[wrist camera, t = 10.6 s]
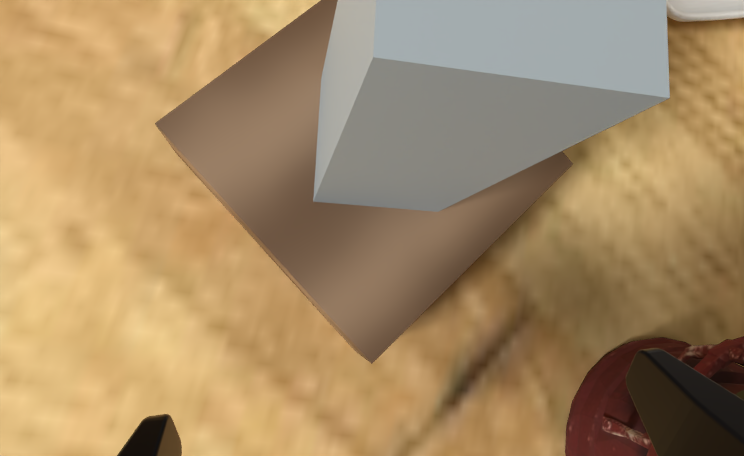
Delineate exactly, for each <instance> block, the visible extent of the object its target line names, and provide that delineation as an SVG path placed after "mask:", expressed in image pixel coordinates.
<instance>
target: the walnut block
mask: <svg viewBox="0 0 744 456" xmlns="http://www.w3.org/2000/svg"><path fill="white" fill-rule="evenodd" d="M337 2H338V0H321V1H320V2H318V3H317V4H315V5H314V6H313V7H311V8H310V9H309V10H307V11H306V12H305V13H303V14H302V15H301V16H299V17H298V18H297V19H295V20H294V21H292V22H291V23H290V24H288V25H287V26H286V27H284V28H283V29H282V30H280V31H279V32H278V33H276V34H275V35H274V36H272V37H271V38H270V39H268V40H267V41H265V42H264V43H263V44H261V45H260V46H259V47H257V48H256V49H255V50H253V51H252V52H251V53H249V54H248V55H247V56H245V57H244V58H243V59H241V60H240V61H238V62H237V63H236V64H234V65H233V66H232V67H230V68H229V69H228V70H226V71H225V72H224V73H222V74H221V75H220V76H218V77H217V78H216V79H214V80H213V81H211V82H210V83H209V84H207V85H206V86H205V87H203V88H202V89H201V90H199V91H198V92H197V93H195V94H194V95H193V96H191V97H190V98H189V99H187V100H186V101H184V102H183V103H182V104H180V105H179V106H178V107H176V108H175V109H174V110H172V111H171V112H170V113H168V114H167V115H166V116H164V117H163V118H162V119H160V120H159V121H157V122H156V123H155V124H156V126H157V127H158V129H159V130H160V131H161V133H162V134H163V136H164V137H165V138H166V140H167V141H168V143H169V144H170V145H171V147H172V148H173V149H174V151H175V152H176V153H177V155H178V156H179V157H180V158H181V159H182V160H183V161H184V162H185V163H186V165H187V166H188V167H189V168H190V169H191V170H192V171H193V172H194V173H195V174H196V176H197V177H198V178H199V179H200V180H201V181H202V182H203V183H204V184H205V186H206V187H207V188H208V189H209V190H210V191H211V192H212V193H213V194H214V195H215V197H216V198H217V199H218V200H219V201H220V202H221V203H222V204H223V205H224V207H225V208H226V209H227V210H228V211H229V212H230V213H231V214H232V215H233V216H234V218H235V219H236V220H237V221H238V222H239V223H240V224H241V225H242V226H243V228H244V229H245V230H246V231H247V232H248V233H249V234H250V235H251V236H252V237H253V239H254V240H255V241H256V242H257V243H258V244H259V245H260V246H261V247H262V249H263V250H264V251H265V252H266V253H267V254H268V255H269V256H270V257H271V258H272V260H273V261H274V262H275V263H276V264H277V265H278V266H279V267H280V268H281V270H282V271H283V272H284V273H285V274H286V275H287V276H288V277H289V278H290V280H291V281H292V282H293V283H294V284H295V285H296V286H297V287H298V288H299V289H300V291H301V292H302V293H303V294H304V295H305V296H306V297H307V298H308V299H309V301H310V302H311V303H312V304H313V305H314V306H315V307H316V308H317V309H318V310H319V312H320V313H321V314H322V315H323V316H324V317H325V318H326V319H327V320H328V322H329V323H330V324H331V325H332V326H333V327H334V328H335V329H336V330H337V331H338V333H339V334H340V335H341V336H342V337H343V338H344V339H345V340H346V341H347V343H348V344H349V345H350V346H351V347H352V348H353V349H354V350H355V351H356V352H357V353H358V354H360V355H361V356H362V357H364V358H365V359H366V360H368V361H369V362H370V363H373V362H374V361H375V360H376V359H377V358H378V357H379V356H380V355H381V354H382V353H383V352H384V351H385V350H386V349H387V348H388V347H389V346H390V345H391V344H392V343H393V342H394V341H395V340H396V339H397V338H398V337H399V336H400V335H401V334H402V333H403V332H404V331H405V330H406V329H407V328H408V327H409V326H410V325H411V324H412V323H413V322H414V321H415V320H416V319H417V318H418V317H419V316H420V315H421V314H422V313H423V312H424V311H425V310H426V309H427V308H428V307H429V306H430V305H431V304H432V303H433V302H434V301H435V300H437V299H438V298H439V297H440V296H441V295H442V294H443V293H444V292H445V291H446V290H447V289H448V288H449V287H450V286H451V285H452V284H453V283H454V282H455V281H456V280H457V279H458V278H459V277H460V276H461V275H462V274H463V273H464V272H465V271H466V270H467V269H468V268H469V267H470V266H471V265H472V264H473V263H474V262H475V261H476V260H477V259H478V258H479V257H480V256H481V255H482V254H483V253H484V252H485V251H486V250H487V249H488V248H489V247H490V246H491V245H492V244H493V243H494V242H495V241H496V240H497V239H498V238H499V237H500V236H501V235H502V234H503V233H504V232H505V231H506V230H507V229H508V228H509V227H510V226H511V225H512V224H513V223H514V222H515V221H516V220H517V219H518V218H519V217H520V216H521V215H522V214H523V213H524V212H525V211H526V210H527V209H528V208H529V207H530V206H531V205H532V204H533V203H534V202H535V201H536V200H537V199H538V198H539V197H540V196H541V195H542V194H543V193H544V192H545V191H546V190H547V189H548V188H549V187H550V186H551V185H552V184H553V183H554V182H555V181H556V180H557V179H558V178H559V177H561V176H562V175H563V174H564V173H565V172H566V171H567V170H568V169H569V168H570V167H571V166H572V165H573V163H572V162H571V161H570V160H569V159H568V157H567V156H566V155H565V154H564V153H563V152H562V151H561V152H559V153H557V154H555V155H553V156H551V157H549V158H547V159H545V160H542V161H540V162H538V163H536V164H534V165H532V166H530V167H528V168H526V169H524V170H522V171H520V172H518V173H516V174H514V175H512V176H510V177H508V178H506V179H504V180H502V181H500V182H498V183H496V184H494V185H492V186H490V187H488V188H486V189H483V190H481V191H479V192H477V193H475V194H473V195H471V196H469V197H467V198H465V199H463V200H461V201H459V202H457V203H455V204H453V205H451V206H449V207H447V208H445V209H443V210H441V211H439V212H434V211H422V210H410V209H398V208H386V207H373V206H361V205H349V204H337V203H324V202H313V198H314V183H315V167H316V152H317V136H318V121H319V106H320V90H321V77H322V72H323V68H324V63H325V58H326V53H327V49H328V44H329V39H330V35H331V30H332V25H333V20H334V16H335V11H336V6H337Z"/></svg>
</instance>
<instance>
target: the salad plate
mask: <svg viewBox="0 0 744 456" xmlns="http://www.w3.org/2000/svg"><path fill="white" fill-rule="evenodd" d="M666 7H667V16H668V17H669V18H671V19H673V20H675V21H681V22H691V21H711V20H724V19H736V18H744V0H666Z"/></svg>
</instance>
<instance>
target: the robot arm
mask: <svg viewBox="0 0 744 456" xmlns="http://www.w3.org/2000/svg"><path fill="white" fill-rule="evenodd" d="M626 385H627V388H628V391H629V393H630V395H631V398H632V400H633V402H634V404H635V407H636V409H637V411H638V413H639V416H640V418H641V420H642V422H643V425H644V427H645V429H646V431H647V434H648V436H649V438H650V440H651V443H652V445H653V447H654V449H655V451H656V454H657V456H744V400H743V399H741V398H739V397H738V396H736V395H735V394H733V393H731V392H730V391H728V390H727V389H725V388H723V387H722V386H720V385H719V384H717V383H715V382H714V381H712V380H711V379H709V378H707V377H706V376H704V375H703V374H701V373H699V372H698V371H696V370H695V369H693V368H691V367H690V366H688V365H687V364H685V363H683V362H682V361H680V360H679V359H677V358H675V357H674V356H672V355H671V354H669V353H667V352H666V351H664V350H662V349H659V348H650V349H643V350H639V351H638V352H637V353H636V354H635V356H634V358H633V361H632V363H631V365H630V368H629V370H628V372H627V375H626ZM181 454H182V447H181V440H180V437H179V435H178V432H177V430H176V427H175V425H174V422H173V420H172V418H171V416H170V415H168V414H163V415H156V416H149V417H146V418H145V419H144V420H143V421H142V422H141V423H140V424H139V426H138V427H137V429H136V430H135V431H134V433H133V434H132V436H131V437H130V438H129V440H128V441H127V443H126V444H125V445H124V447H123V448H122V450H121V451H120V452H119V454H118V455H117V456H181Z"/></svg>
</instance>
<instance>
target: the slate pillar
mask: <svg viewBox="0 0 744 456" xmlns="http://www.w3.org/2000/svg"><path fill="white" fill-rule="evenodd" d="M669 98H670V91H669V63H668V35H667V7H666V0H338V2H337V6H336V11H335V16H334V20H333V25H332V30H331V35H330V39H329V44H328V49H327V53H326V58H325V63H324V68H323V72H322V77H321V90H320V106H319V121H318V136H317V152H316V167H315V183H314V198H313V202H324V203H337V204H349V205H361V206H373V207H386V208H398V209H410V210H422V211H434V212H439V211H441V210H443V209H445V208H447V207H449V206H451V205H453V204H455V203H457V202H459V201H461V200H463V199H465V198H467V197H469V196H471V195H473V194H475V193H477V192H479V191H481V190H483V189H486V188H488V187H490V186H492V185H494V184H496V183H498V182H500V181H502V180H504V179H506V178H508V177H510V176H512V175H514V174H516V173H518V172H520V171H522V170H524V169H526V168H528V167H530V166H532V165H534V164H536V163H538V162H540V161H542V160H545V159H547V158H549V157H551V156H553V155H555V154H557V153H559V152H561V151H563V150H565V149H567V148H569V147H571V146H573V145H575V144H577V143H579V142H581V141H583V140H585V139H587V138H589V137H591V136H593V135H595V134H597V133H599V132H602V131H604V130H606V129H608V128H610V127H612V126H614V125H616V124H618V123H620V122H622V121H624V120H626V119H628V118H630V117H632V116H634V115H636V114H638V113H640V112H642V111H644V110H646V109H648V108H650V107H652V106H654V105H656V104H658V103H661V102H663V101H665V100H667V99H669Z"/></svg>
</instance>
